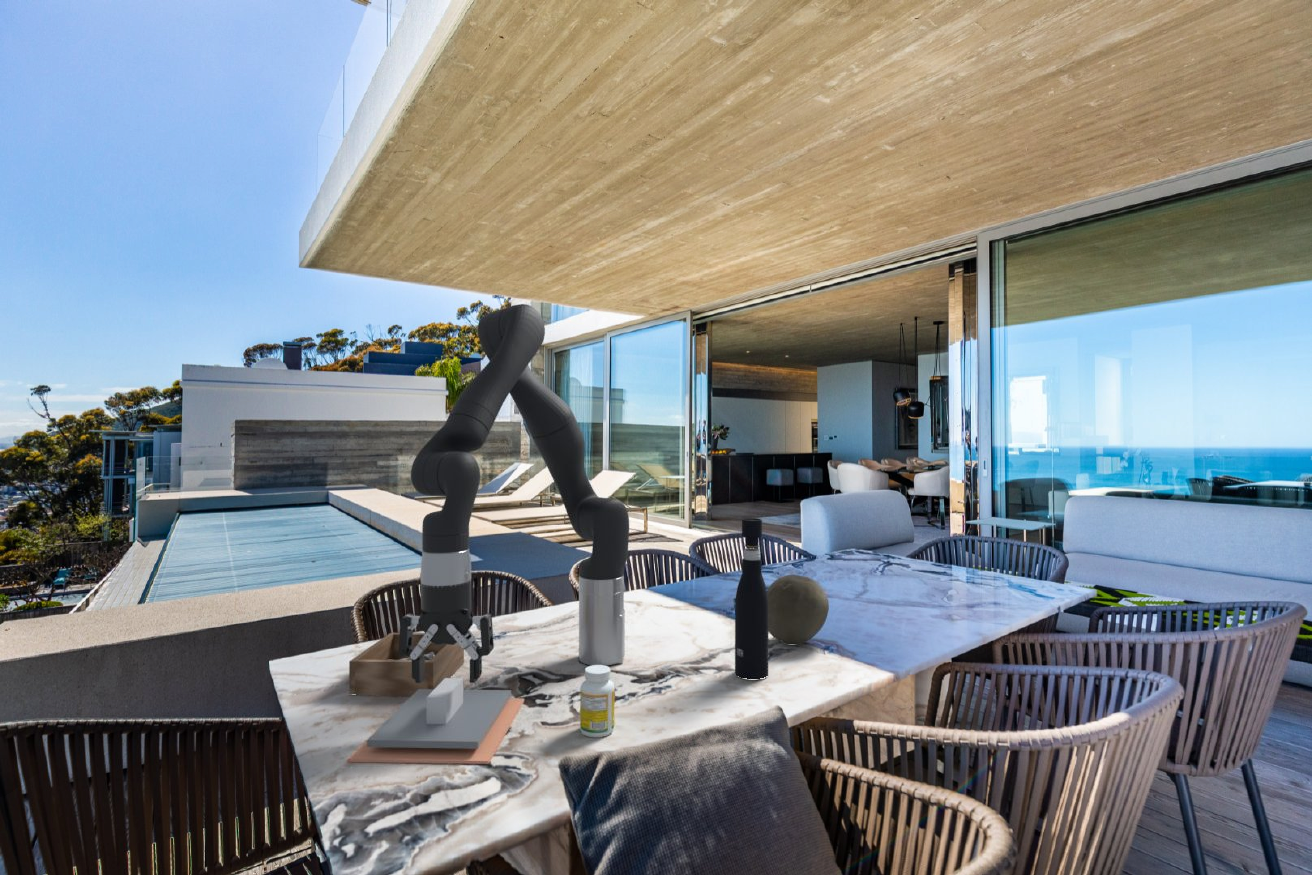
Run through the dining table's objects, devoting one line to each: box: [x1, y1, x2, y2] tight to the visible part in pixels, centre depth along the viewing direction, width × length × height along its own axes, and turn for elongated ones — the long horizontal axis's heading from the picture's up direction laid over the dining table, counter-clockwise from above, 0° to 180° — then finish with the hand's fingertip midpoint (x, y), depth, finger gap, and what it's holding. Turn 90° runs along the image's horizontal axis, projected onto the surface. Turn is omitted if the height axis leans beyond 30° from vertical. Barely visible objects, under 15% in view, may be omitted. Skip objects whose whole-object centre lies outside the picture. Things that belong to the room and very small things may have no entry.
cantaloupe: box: [767, 574, 830, 645], centre depth 146 cm, size 14×14×15 cm
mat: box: [347, 697, 525, 765], centre depth 103 cm, size 20×22×1 cm
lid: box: [366, 677, 512, 749], centre depth 103 cm, size 16×19×6 cm
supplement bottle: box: [579, 665, 616, 738], centre depth 102 cm, size 5×5×10 cm
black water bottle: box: [734, 517, 769, 679], centre depth 127 cm, size 6×6×30 cm
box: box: [348, 632, 465, 697], centre depth 124 cm, size 15×17×6 cm
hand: (446, 681), depth 103 cm, fingers open, 8 cm apart
